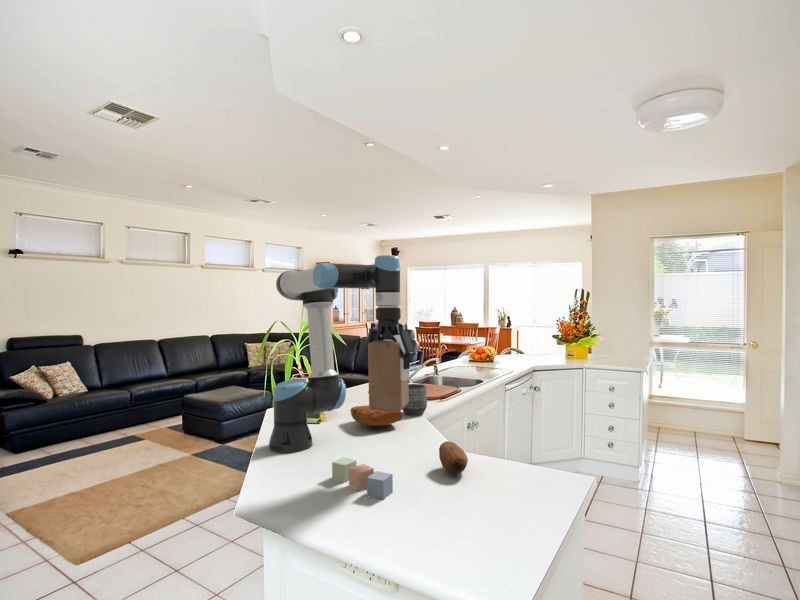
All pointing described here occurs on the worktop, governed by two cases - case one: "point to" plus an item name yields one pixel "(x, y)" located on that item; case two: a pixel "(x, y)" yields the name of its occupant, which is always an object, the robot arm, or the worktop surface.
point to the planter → (416, 400)
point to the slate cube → (379, 485)
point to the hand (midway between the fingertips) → (389, 377)
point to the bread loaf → (375, 416)
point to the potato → (452, 458)
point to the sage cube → (342, 469)
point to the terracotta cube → (359, 476)
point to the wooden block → (386, 377)
